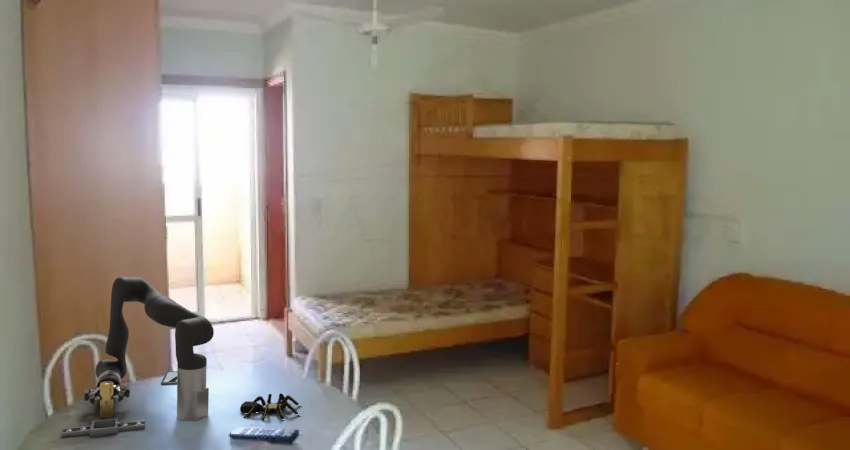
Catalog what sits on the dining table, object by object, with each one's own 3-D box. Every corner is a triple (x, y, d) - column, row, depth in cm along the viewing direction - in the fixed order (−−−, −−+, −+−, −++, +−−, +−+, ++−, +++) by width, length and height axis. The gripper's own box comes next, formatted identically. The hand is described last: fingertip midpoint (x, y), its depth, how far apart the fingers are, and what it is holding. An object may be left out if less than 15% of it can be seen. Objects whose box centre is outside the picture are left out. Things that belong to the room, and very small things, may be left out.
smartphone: (185, 370, 268) (181, 382, 254) (185, 373, 268) (181, 385, 254) (166, 371, 266) (160, 383, 252) (166, 373, 267) (160, 385, 252)
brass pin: (116, 414, 222) (116, 382, 221) (106, 418, 219) (106, 386, 218) (107, 412, 224) (107, 380, 223) (97, 416, 220) (97, 384, 219)
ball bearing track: (145, 421, 218) (145, 415, 217) (145, 430, 211) (145, 424, 210) (63, 429, 208) (63, 423, 208) (60, 439, 201) (60, 433, 201)
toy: (301, 422, 224) (301, 407, 224) (237, 422, 221) (237, 408, 221) (303, 403, 242) (304, 389, 241) (244, 403, 239) (244, 390, 238)
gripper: (86, 375, 231) (81, 390, 216) (131, 371, 236) (130, 387, 221) (86, 396, 231) (82, 413, 216) (131, 392, 237) (130, 408, 222)
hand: (106, 400), depth 219 cm, fingers open, 7 cm apart
